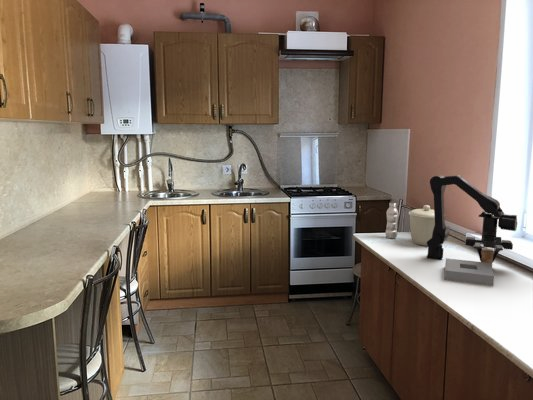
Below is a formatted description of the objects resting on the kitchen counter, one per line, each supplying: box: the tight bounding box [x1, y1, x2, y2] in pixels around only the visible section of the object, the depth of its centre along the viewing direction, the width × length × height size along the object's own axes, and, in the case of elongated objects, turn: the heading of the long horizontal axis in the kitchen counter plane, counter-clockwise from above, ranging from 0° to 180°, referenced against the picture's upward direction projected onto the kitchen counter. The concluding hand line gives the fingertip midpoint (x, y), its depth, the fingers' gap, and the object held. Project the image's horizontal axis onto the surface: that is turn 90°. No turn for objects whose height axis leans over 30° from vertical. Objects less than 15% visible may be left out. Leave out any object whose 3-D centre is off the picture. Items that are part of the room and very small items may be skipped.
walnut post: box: [480, 247, 494, 267], centre depth 198 cm, size 4×4×8 cm
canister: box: [408, 204, 446, 247], centre depth 235 cm, size 18×18×21 cm
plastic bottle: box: [384, 202, 399, 239], centre depth 247 cm, size 6×7×20 cm
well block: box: [444, 257, 495, 286], centre depth 186 cm, size 18×18×4 cm
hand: (486, 261), depth 198 cm, fingers closed on walnut post, 4 cm apart
